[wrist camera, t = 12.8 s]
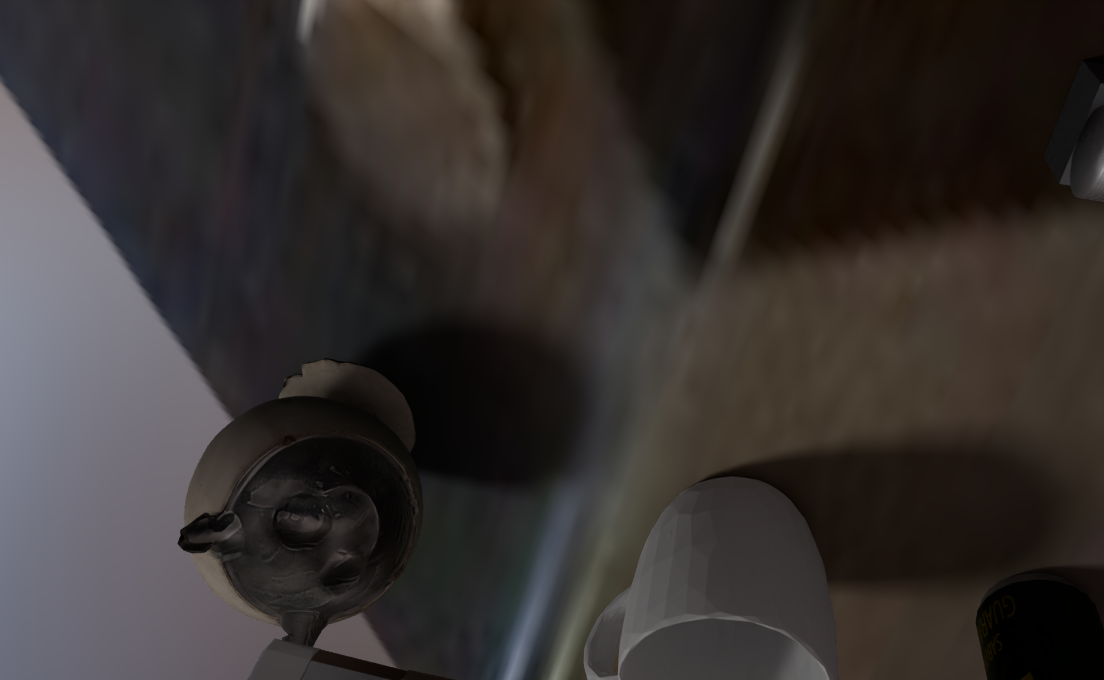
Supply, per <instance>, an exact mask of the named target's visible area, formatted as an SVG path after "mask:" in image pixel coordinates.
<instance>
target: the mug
mask: <svg viewBox="0 0 1104 680" xmlns="http://www.w3.org/2000/svg"><path fill="white" fill-rule="evenodd" d="M618 648H619V664H618V673H613V671H612V669H613V664H614V659H615V655H616V653H617V651H618ZM584 666H585V671H586V674H587V678H588V680H839V674H838V657H837V640H836V624H835V619H834V613H833V608H832V602H831V597H830V593H829V588H828V583H827V578H826V573H825V569H824V564H823V561H822V558H821V556H820V553H819V551H818V548H817V546H816V543H815V541H814V538H813V536H812V533H811V531H810V529H809V527H808V524H807V522H806V520H805V518H804V517H803V516H802V515H801V513H800V512H799V511H798V510H797V508H796V507H795V505H794V504H793V503H792V502H791V501H790V500H789V499H788V498H787V497H786V496H785V495H784V494H783V493H782V492H780V491H779V490H777V489H776V488H774V487H773V486H771V485H769V484H767V483H765V482H762V481H760V480H755V479H749V478H741V477H733V476H731V477H723V478H715V479H711V480H707V481H703V482H700V483H698V484H696V485H694V486H692V487H690V488H689V489H687V490H685V491H683V492H681V493H680V494H679V495H678V496H677V497H676V498H675V499H674V500H673V501H672V502H671V503H670V504H669V506H667V508H666V509H665V510H664V511H663V512H662V514H661V516H660V517H659V519H658V521H657V522H656V524H655V526H654V528H653V529H652V531H651V533H650V535H649V536H648V538H647V541H646V543H645V546H644V548H643V551H642V553H641V556H640V559H639V562H638V566H637V569H636V573H635V576H634V579H633V583H632V585H631V586H630V587H628V588H627V589H626V590H625V591H623V592H622V593H621V594H619V595H618V596H617V597H616V598H615V599H614V600H613V601H612V602H611V603H610V604H609V605H608V606H607V607H606V609H605V610H604V611H603V612H602V614H601V615H600V616H599V617H598V619H597V621H596V623H595V625H594V627H593V629H592V630H591V633H590V635H589V637H588V639H587V642H586V646H585V649H584Z"/></svg>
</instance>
